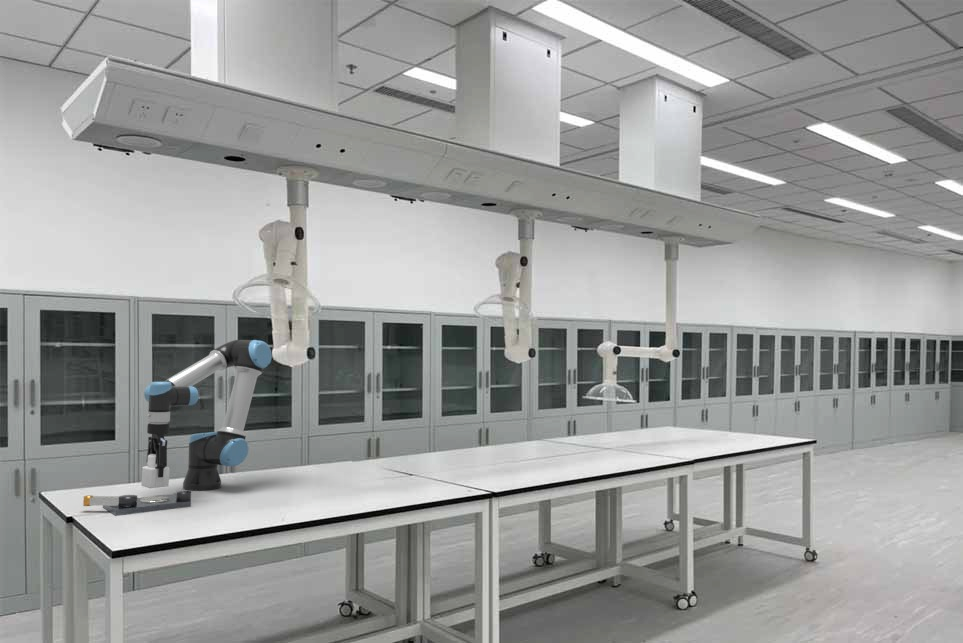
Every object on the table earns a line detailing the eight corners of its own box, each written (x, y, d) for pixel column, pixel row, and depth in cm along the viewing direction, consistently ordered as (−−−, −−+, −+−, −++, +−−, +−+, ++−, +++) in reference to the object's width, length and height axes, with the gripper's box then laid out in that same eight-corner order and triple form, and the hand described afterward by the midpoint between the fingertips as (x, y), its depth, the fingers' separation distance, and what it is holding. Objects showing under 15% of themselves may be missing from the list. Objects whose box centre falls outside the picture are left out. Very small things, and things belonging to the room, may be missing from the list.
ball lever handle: (139, 503, 261) (139, 494, 261) (133, 507, 255) (133, 498, 255) (87, 503, 259) (87, 494, 259) (79, 507, 253) (80, 497, 253)
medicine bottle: (159, 483, 274) (161, 452, 274) (168, 486, 269) (170, 454, 270) (140, 485, 268) (142, 453, 269) (150, 488, 264) (151, 455, 264)
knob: (192, 501, 269) (193, 492, 269) (179, 502, 265) (179, 493, 265) (185, 497, 274) (185, 489, 274) (171, 499, 271) (172, 490, 271)
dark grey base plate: (175, 498, 280) (175, 493, 280) (190, 506, 269) (190, 500, 269) (102, 507, 263) (103, 501, 263) (115, 515, 251) (115, 509, 251)
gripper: (139, 420, 275) (136, 481, 274) (157, 426, 260) (154, 489, 259) (159, 420, 280) (156, 479, 279) (178, 425, 265) (175, 487, 264)
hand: (155, 484), depth 269 cm, fingers closed on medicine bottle, 8 cm apart
